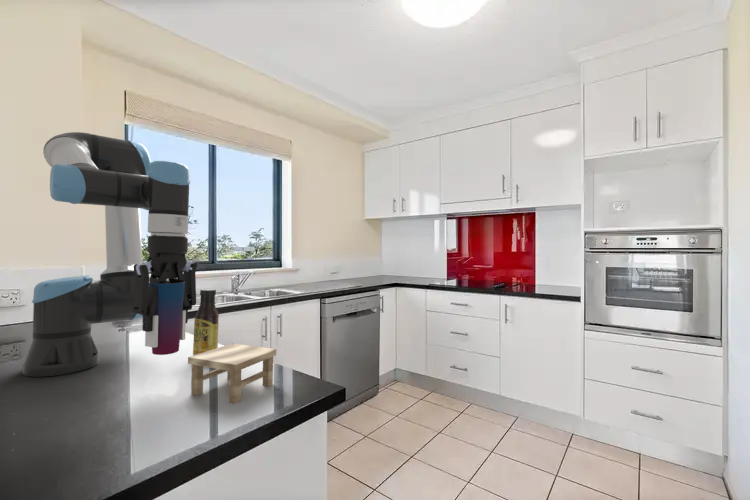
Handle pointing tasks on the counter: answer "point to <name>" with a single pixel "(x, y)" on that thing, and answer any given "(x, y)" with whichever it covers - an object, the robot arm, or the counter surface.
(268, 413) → the counter surface
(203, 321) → the sauce bottle
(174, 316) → the cup
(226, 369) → the beige streaked flat-top fixture
